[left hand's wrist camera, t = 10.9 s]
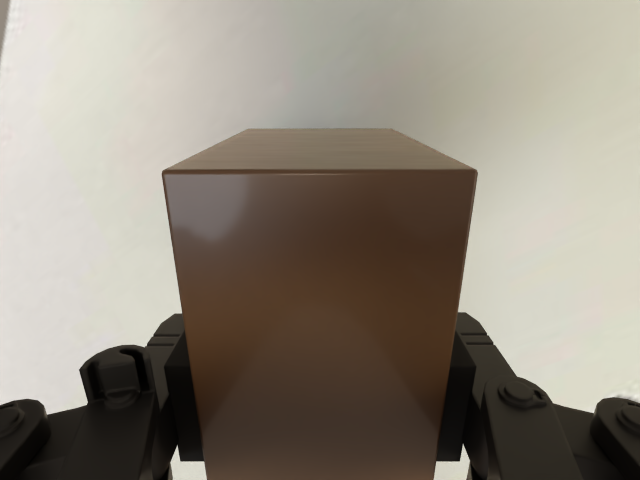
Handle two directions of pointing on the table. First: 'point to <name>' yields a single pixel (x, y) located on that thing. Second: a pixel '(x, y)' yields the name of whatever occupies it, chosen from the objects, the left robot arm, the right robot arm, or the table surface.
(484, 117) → the table surface
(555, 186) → the table surface
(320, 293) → the beam
